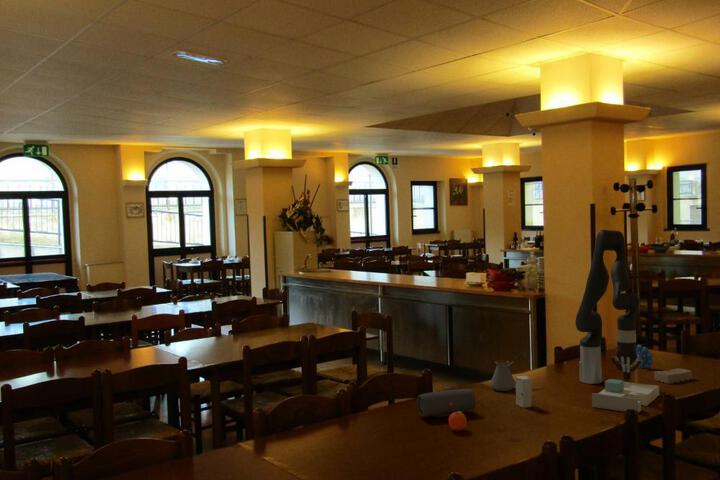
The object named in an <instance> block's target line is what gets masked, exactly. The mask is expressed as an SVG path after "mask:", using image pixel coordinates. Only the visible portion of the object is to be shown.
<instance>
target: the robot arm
mask: <svg viewBox="0 0 720 480" xmlns="http://www.w3.org/2000/svg"><path fill="white" fill-rule="evenodd" d="M625 242H626V241H625V237H624V234H623V232H621V231H620V230H615V229H613V230H611V229H600V230H599V231H598V233H597V234H596V239H595V242H594V249H593V253H592V254H593V255H592V261H591V265H590V269H589V273H588V275H587V276H588V277H587V279H586V284H585V289H584V292H583V296H582V298H581V302H580V305H579V308H578V311H577V313H576V315H575V316H576V317H575V321H574V322H575V328H576V329H577V331H578V332H581V333H586V335H585V336H584V337H582V338H580V340H579V348H580V349H579V353H580V355H579V357H580V361H579V362H578V367H579V368H578V370H579V382H580V383H584V384H589V385H590V384H591V385H592V384H593V385H595V384H596V385H598V384H601V383H602V382H603V379H602V378H603V377H602V351H601V346H602V345H601V344H602V339H603V320H602V317H601V314H599V312H598V311H593V310H594V308H595V306H596V305H597V303H598V302H599V301H600V300H601V299H602V298H603V296H604V295H605V293H606V292H607V289H608V285H609V283H610V278H611V282H612V283H611V284H612V288H613V291H612V292H613V295H612V303H611V304H612V306H613V308H614V309H615V310H617V311H624V310H625V311H626V310H627V312H626V313H624V314H621V315H618V317H617V319H616V324H617V325H616V326H617V327H616V328H617V332H616V354H615V355H614V356H613V357H611V358H610V359H611V361H612V363H613V364H614V365H615V367H616V368H617V370H618V371H622V374H623V375H622V377H623V380H624V382H630V380H632V373H634V372H635V371H637V369H638V368H639V367H640V365H641V363H642V362H643V360H640V359H639V358H638V356H637V354H636V347H637V333H636V318H637V313H638V310H639V306H640V297H639V296H638V294H637V293H635V292H627V291H628V290H629V289H630V288H631V280H630V276H629V273H628V268H627V267H628V266H627V255H626V244H625ZM605 251H611V252H615V254H616V255H615V256H616V257H615V260H614V263H613V265H612V266H611V269H610V272H609V271H608V268H607V266H606V264H605V261H604V260H605V259H604V255H605V254H604V253H605ZM609 273H610V274H609ZM635 360H636V363H635V362H634V361H635ZM634 363H635V365H634V366H633V364H634Z"/></svg>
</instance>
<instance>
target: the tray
mask: <svg viewBox="0 0 720 480" xmlns="http://www.w3.org/2000/svg"><path fill="white" fill-rule="evenodd" d="M657 396H658V397H659V396H660V386H659V385H654V384H647V383H646V384H645V383H637V382H630V381H624V390H623V391H622V392H620V393H615V392H607V391H605V388H604V389H602V390H601V391H600V392H597V393H596V392H595V393H594V392H591V407H592V408H599V409H604V410H605V409H606V410H612V411H619V412H625V411H626V410H627V409H634V410H636V411H637V412H638V413H637V414H639V413H640V412H641V411H642V406H644V407H645V406H646V407H647V406H648V405H650V404H651V403H652V402H653V401H654V400H655V399H656V398H658V397H657Z"/></svg>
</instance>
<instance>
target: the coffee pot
mask: <svg viewBox="0 0 720 480" xmlns="http://www.w3.org/2000/svg"><path fill="white" fill-rule="evenodd" d="M522 356H523V357H525V356H527V354H526V353H525V352H524V351H523V352H521V353H520V354H519V355H518V356H516V357H515V358H514V359H512V361H511V362H510V361H509V360H505V359H502V360H496V361H495V362H494V363H495V364H496V367H495V371H494V373H493V376H492V378H491V380H490V385H491V387H492V388H493V389H494V390H495V391H498V392H509V391H512V390H513V388H514V387H516V379H515V378H514V377H513V373H512V372H511V370H510V368H509V367H511V365H513V364H514V363H515V362H517V361H518V360H519V359H520V358H521V357H522Z"/></svg>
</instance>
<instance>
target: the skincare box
mask: <svg viewBox="0 0 720 480" xmlns="http://www.w3.org/2000/svg"><path fill="white" fill-rule="evenodd" d="M515 382H516V384H515V404H516V405H517V406H518V407H521V408H525V409H526V408H531V407H532V378H531V377H529V376H527V375H518V376H515Z"/></svg>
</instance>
